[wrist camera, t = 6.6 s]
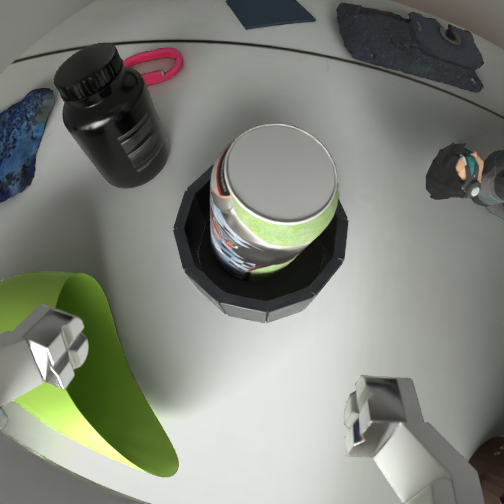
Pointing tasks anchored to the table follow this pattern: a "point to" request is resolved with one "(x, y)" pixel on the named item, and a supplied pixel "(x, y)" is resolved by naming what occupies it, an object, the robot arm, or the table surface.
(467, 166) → the figurine
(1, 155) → the rock
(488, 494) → the coffee mug
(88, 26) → the table surface
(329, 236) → the stand
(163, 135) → the supplement bottle
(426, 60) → the dark slate chunk
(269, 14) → the rubber pad
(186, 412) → the table surface
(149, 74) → the fitness band
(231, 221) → the beverage can
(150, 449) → the green hollow scoop
